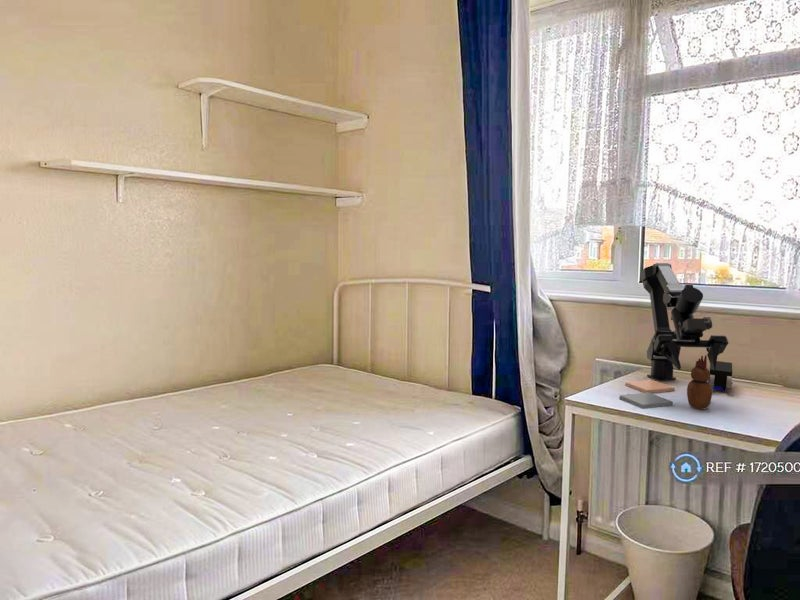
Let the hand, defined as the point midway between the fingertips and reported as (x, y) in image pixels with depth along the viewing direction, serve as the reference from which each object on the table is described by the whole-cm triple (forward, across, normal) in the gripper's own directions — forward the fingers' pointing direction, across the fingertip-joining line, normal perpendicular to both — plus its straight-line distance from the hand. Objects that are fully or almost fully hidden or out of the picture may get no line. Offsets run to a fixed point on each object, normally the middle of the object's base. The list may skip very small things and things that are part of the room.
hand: (697, 369), depth 167 cm
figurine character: (-6, +14, +20) cm, 25 cm away
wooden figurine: (+9, 0, +6) cm, 11 cm away
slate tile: (+6, -13, +9) cm, 16 cm away
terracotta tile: (-5, -7, +19) cm, 21 cm away
